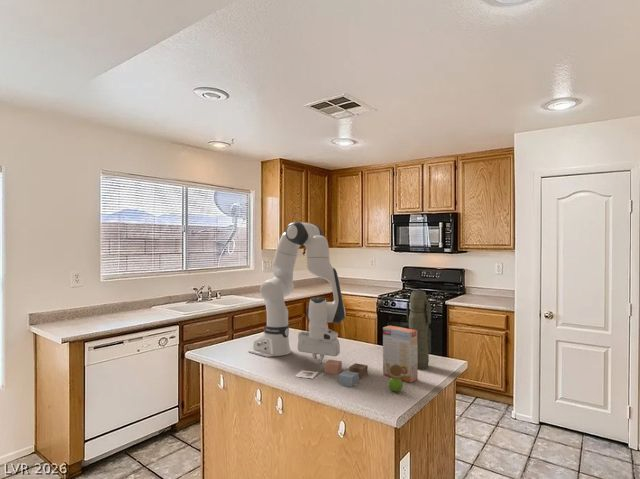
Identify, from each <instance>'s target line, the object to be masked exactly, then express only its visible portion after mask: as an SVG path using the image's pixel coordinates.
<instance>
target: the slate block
mask: <svg viewBox="0 0 640 479" xmlns="http://www.w3.org/2000/svg"><path fill="white" fill-rule="evenodd" d="M359 379H360V378H359V373H355V372H350V371H349V370H344V371H342V372H341V373H338V385H341V386H346V387H350V388H353V387H355V386H356V385H357V384H359V382H360V381H359Z"/></svg>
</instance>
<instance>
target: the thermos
mask: <svg viewBox="0 0 640 479" xmlns="http://www.w3.org/2000/svg"><path fill="white" fill-rule="evenodd" d="M406 321H407V322H408V329H412V330H417V362H418V363H417V364H418V370H427V369H428V368H429V362H430V360H429V358H430V357H429V356H430V354H429V350H428V331H429V325H430V324H431V323H432V305H431V302H428V296H427V293H426V291H424V290H421V289H415V290H412V291H411V293H410V296H409V299H408V300H407V302H406Z"/></svg>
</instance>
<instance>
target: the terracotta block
mask: <svg viewBox="0 0 640 479" xmlns="http://www.w3.org/2000/svg"><path fill="white" fill-rule="evenodd" d="M342 364H343V361H342V360H334V359H328V360H327V361H326V362H325V363H324V372H325V373H329V374H337V375H339V374H340V372H341V371H342V369H343V367H342V366H343V365H342Z"/></svg>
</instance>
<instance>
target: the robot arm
mask: <svg viewBox="0 0 640 479" xmlns="http://www.w3.org/2000/svg"><path fill="white" fill-rule="evenodd" d="M285 228H286V229H285V231H284V232H283V233H282V234H281V236H280V238H279V240H278V244H277V246H276V250H275V253H274V258H273V261H272V267H273V278H268V279H266V280H265V281H263V282H262V283H261V284H260V287H259V294H260V296H261V298H262V299H263V301H264V304H265V309H266V325H264V326H263V327H262V330H263V332H262V333H260V335H258V336H257V337H256V338H254V340H253V345H252V347H250V348H249V349H248V352H249V353H251V354H254V355H259V356H263V357H267V358H271V357H280V356H288V355H289V354H291V353H292V349H291V346H290V337H289V335H290V325H289V309H288V307H287V306H286V303H285V297H288V296H289V295H290V294H291V293H292V292H293V291H294V289H295V284H294V269H295V264H296V261H297V260H296V259H297V257H298V252H299V249H300V247H302V246H304V247H305V248H306V265H307V270H308V271H309V273H311V274H312V275H313V276H316V277H317V278H320V279H324V280H326V281H327V282H328V283H329V284H330V286H331V290H332V295H333V301H327V299H326V298H325V297H322V296H314V297H311V298H310V299H309V304H308V305H307V306H306V319H307V320H308V322H309V323H308V331H304V330H303V331H300V332H298V334H297V338H298V342H297V350H298V352H299V353H300V352H301V353H307V354H312V355H311V356H312V357H313V359H314V364H318V365H322V364H323V359H324V357H325V356H330V357H337V356H339V355H340V354H341V345H340V341H339V339H338V336H339V333H338V332H337V331H334V330H332V329H330V328H329V327H328V326H329V325H328V323H332V324H340V323H341V322H343V321H344V320H345V318H346V308H345V305H344V302H343V295H342V290H341V286H340V285H341V284H340V281H339V276H338V272H337V270H336V268H335V267H333V266H332V265H331V260H330V248H329V242H328V239H327V238H326V237H325V236H324V232H323V230H322V228H321V227H320V226H318V225H317V224H314V223H310V222H301V221H300V222H299V221H294V222H290V223H289V224H288V225H287V226H286V227H285ZM318 355H319V357H320V358H319V357H318Z"/></svg>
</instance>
